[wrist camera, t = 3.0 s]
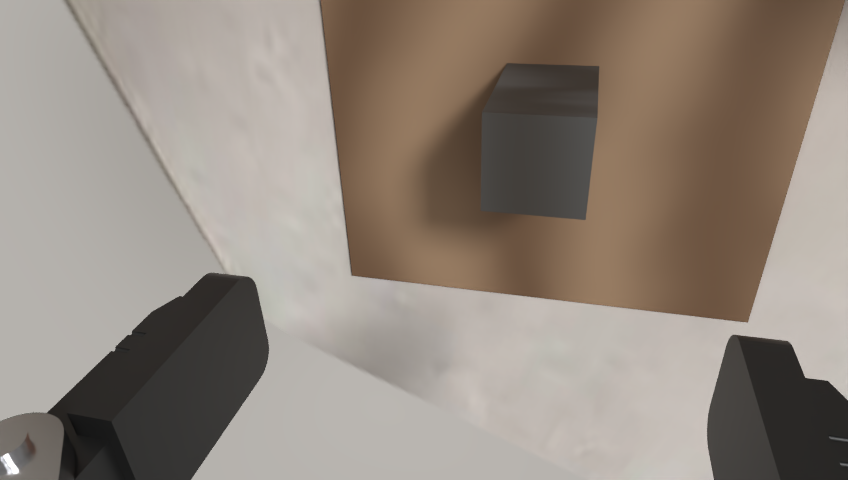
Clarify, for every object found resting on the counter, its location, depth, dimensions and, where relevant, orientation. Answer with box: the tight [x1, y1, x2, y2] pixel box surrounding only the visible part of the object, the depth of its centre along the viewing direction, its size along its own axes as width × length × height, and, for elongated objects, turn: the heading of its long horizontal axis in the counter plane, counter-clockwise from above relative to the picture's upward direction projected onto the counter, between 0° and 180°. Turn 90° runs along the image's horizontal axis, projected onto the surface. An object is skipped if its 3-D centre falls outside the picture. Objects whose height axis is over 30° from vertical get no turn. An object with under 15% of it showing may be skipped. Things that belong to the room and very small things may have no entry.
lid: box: [321, 0, 845, 322], centre depth 19 cm, size 16×16×6 cm
